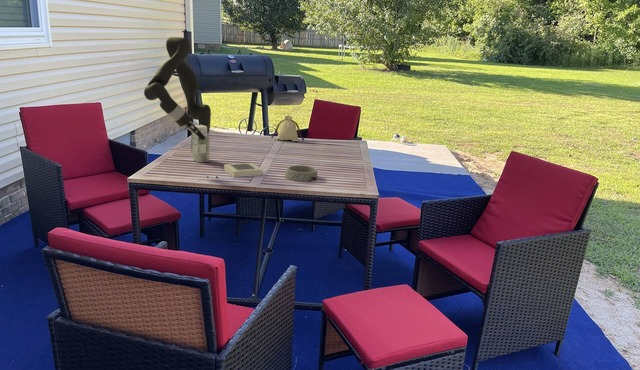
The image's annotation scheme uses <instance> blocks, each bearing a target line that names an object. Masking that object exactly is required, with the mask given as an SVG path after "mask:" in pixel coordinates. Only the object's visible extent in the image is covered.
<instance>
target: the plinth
mask: <svg viewBox="0 0 640 370" xmlns="http://www.w3.org/2000/svg"><path fill="white" fill-rule="evenodd" d="M223 167H224V168H223V170H224V171H225V172H226V173H228V174H229V175H230V176H232V177H233V178H237V177H239V178H240V177H251V176H252V177H253V176H254V177H255V176H262V175H263V169H262V168H260V167H259V166H257V165H256V164H254V163H252V162H246V163H228V164H223Z"/></svg>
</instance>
